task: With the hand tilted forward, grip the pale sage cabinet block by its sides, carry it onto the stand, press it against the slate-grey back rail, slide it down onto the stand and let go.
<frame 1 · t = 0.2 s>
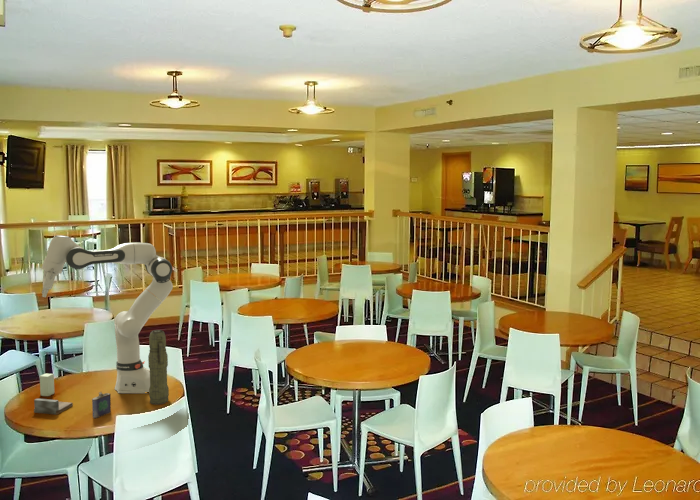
hand: (43, 295, 281), 52 cm above the table, tool tilted 20°, fingers open, 8 cm apart
cabinet block: (47, 394, 294), on the table
stone statue: (159, 401, 286), on the table
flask: (101, 415, 269), on the table
display stand: (53, 409, 275), on the table
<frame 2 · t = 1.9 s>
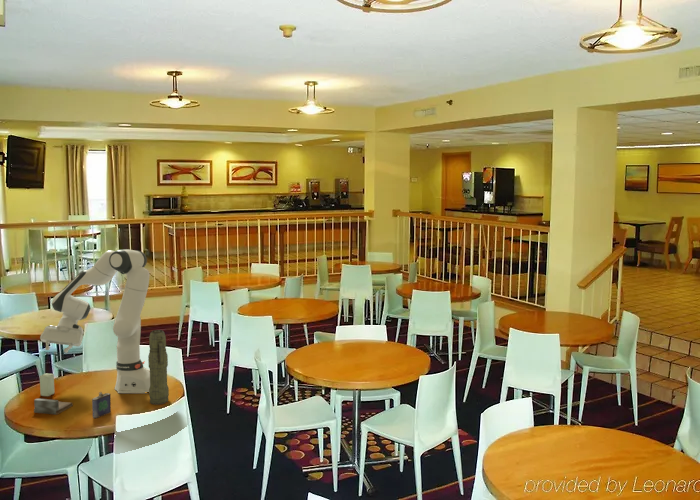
hand: (56, 350, 301), 20 cm above the table, tool tilted 45°, fingers open, 8 cm apart
nothing on the table moved.
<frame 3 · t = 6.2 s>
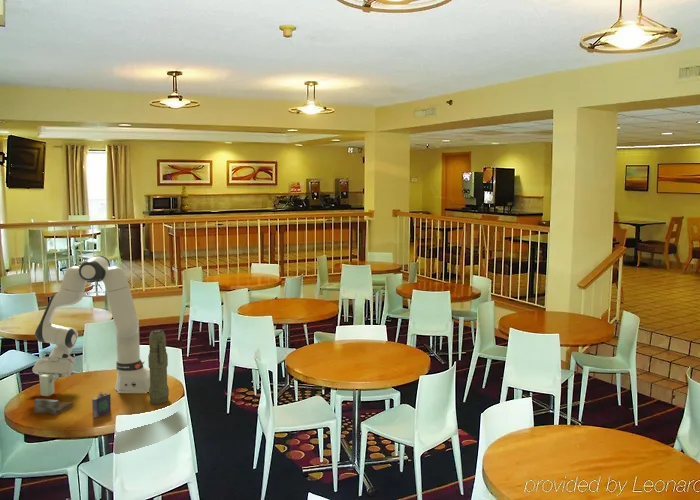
hand: (46, 382, 293), 6 cm above the table, tool tilted 45°, fingers closed on cabinet block, 4 cm apart
cabinet block: (47, 394, 294), on the table, touching gripper
everything else where it was.
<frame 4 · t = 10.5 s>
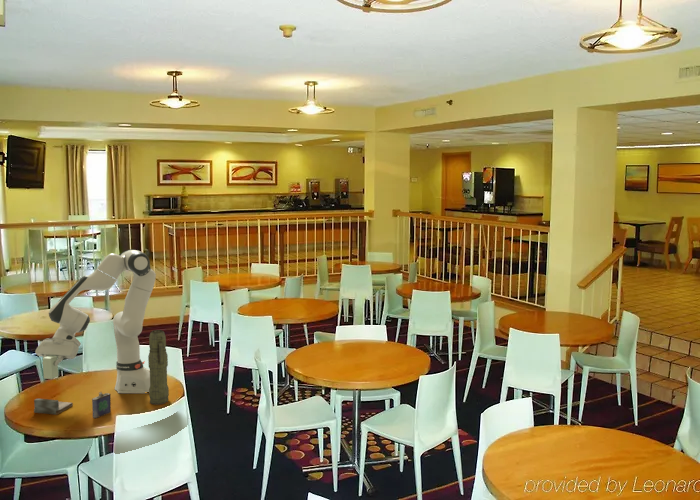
hand: (49, 364, 279), 19 cm above the table, tool tilted 45°, fingers closed on cabinet block, 4 cm apart
cabinet block: (51, 377, 280), point 13 cm above the table, touching gripper
everything else where it was.
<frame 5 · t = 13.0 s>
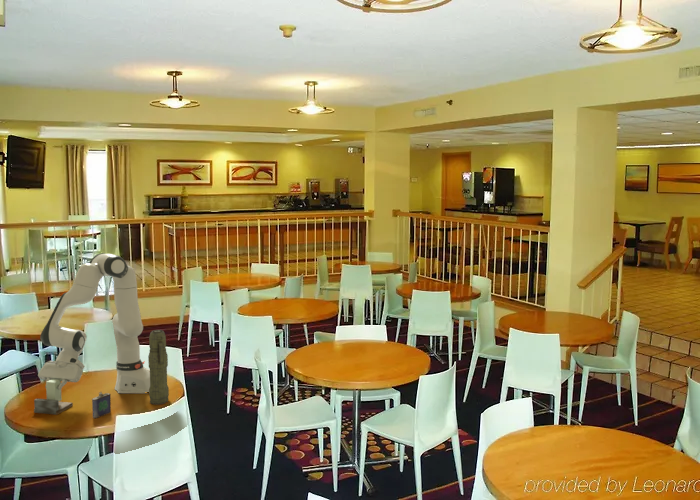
hand: (52, 388, 274), 10 cm above the table, tool tilted 45°, fingers closed on cabinet block, 4 cm apart
cabinet block: (54, 401, 275), point 3 cm above the table, touching gripper
everything else where it was.
when the fingers open (9 cm above the table, at t = 15.0 s): cabinet block stays where it is, resting on display stand.
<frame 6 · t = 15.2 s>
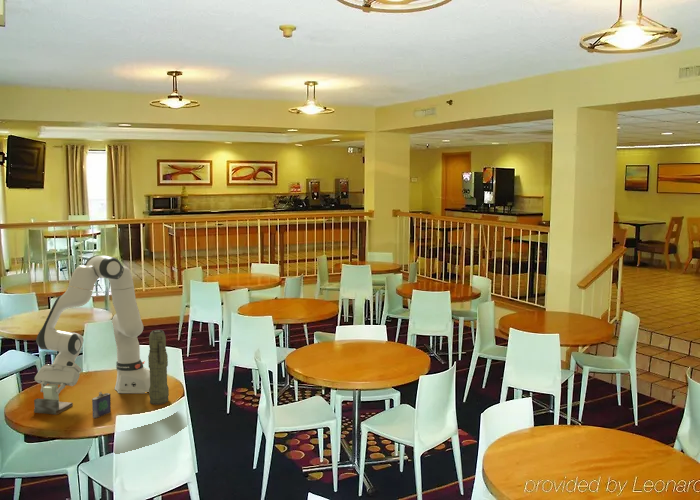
hand: (49, 392, 272), 9 cm above the table, tool tilted 45°, fingers open, 6 cm apart
cabinet block: (51, 406, 274), point 2 cm above the table, touching display stand
everything else where it was.
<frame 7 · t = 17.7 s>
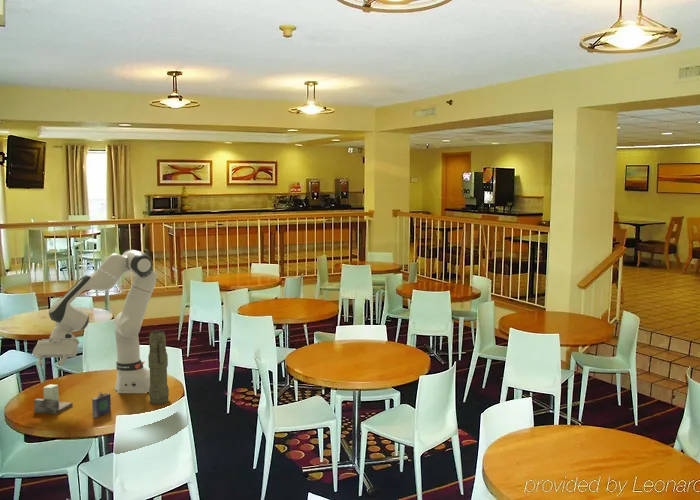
hand: (50, 364, 275), 21 cm above the table, tool tilted 45°, fingers open, 8 cm apart
nothing on the table moved.
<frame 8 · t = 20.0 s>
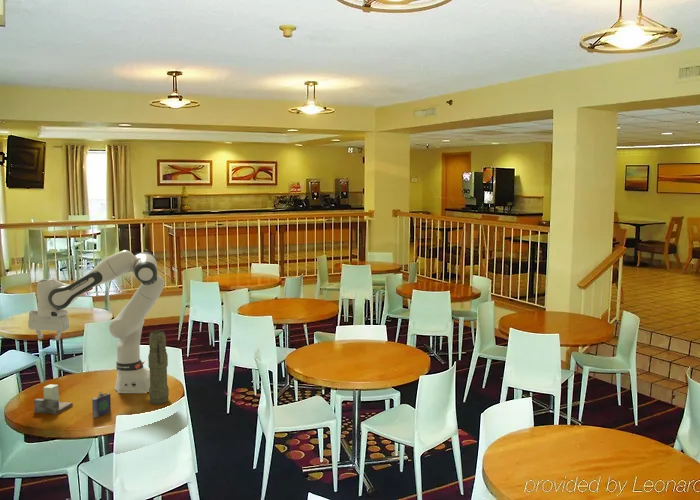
hand: (49, 339, 288), 29 cm above the table, tool pointing down, fingers open, 8 cm apart
nothing on the table moved.
at the end: cabinet block inside the target area (0.2 cm from its centre), point 1.5 cm above the table; cabinet block tilted 0°; the gripper is holding nothing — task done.
